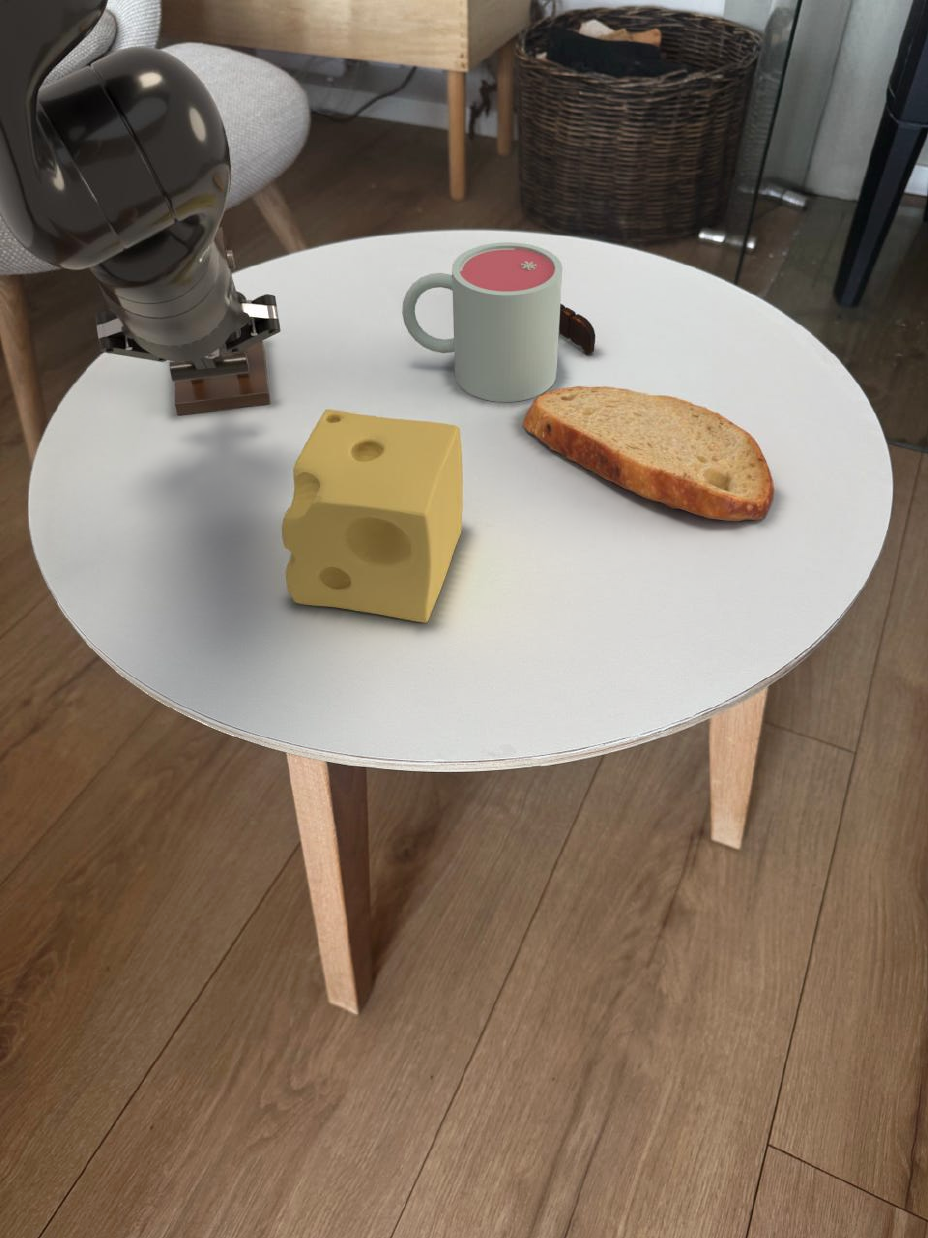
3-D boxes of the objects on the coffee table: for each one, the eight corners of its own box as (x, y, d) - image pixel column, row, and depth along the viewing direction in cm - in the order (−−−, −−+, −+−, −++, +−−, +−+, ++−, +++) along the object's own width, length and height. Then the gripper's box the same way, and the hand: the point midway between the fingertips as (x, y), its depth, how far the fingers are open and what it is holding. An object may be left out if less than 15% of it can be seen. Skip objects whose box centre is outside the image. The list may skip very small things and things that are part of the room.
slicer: (270, 404, 87) (244, 264, 77) (177, 415, 86) (140, 275, 76) (263, 345, 93) (239, 210, 84) (177, 355, 92) (142, 220, 83)
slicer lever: (251, 379, 80) (247, 362, 78) (175, 388, 79) (169, 372, 77) (233, 254, 83) (229, 235, 81) (161, 262, 83) (154, 242, 80)
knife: (477, 286, 101) (477, 258, 98) (484, 283, 101) (484, 255, 99) (587, 356, 91) (590, 327, 89) (595, 353, 91) (598, 323, 89)
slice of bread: (517, 406, 86) (518, 368, 83) (721, 391, 87) (729, 353, 84) (550, 543, 73) (553, 504, 71) (788, 525, 74) (799, 485, 72)
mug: (560, 348, 92) (566, 244, 85) (551, 405, 86) (557, 298, 78) (415, 339, 94) (409, 236, 86) (396, 394, 87) (388, 288, 80)
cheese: (290, 606, 69) (267, 494, 62) (339, 509, 76) (324, 398, 69) (434, 630, 67) (428, 517, 60) (470, 528, 75) (468, 417, 67)
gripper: (268, 210, 61) (282, 298, 78) (46, 232, 59) (110, 317, 77) (287, 331, 61) (297, 393, 78) (66, 356, 60) (126, 414, 77)
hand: (204, 355), depth 77 cm, fingers closed
